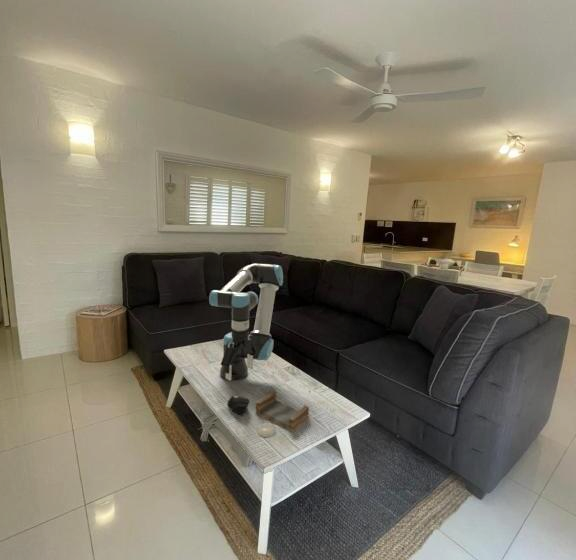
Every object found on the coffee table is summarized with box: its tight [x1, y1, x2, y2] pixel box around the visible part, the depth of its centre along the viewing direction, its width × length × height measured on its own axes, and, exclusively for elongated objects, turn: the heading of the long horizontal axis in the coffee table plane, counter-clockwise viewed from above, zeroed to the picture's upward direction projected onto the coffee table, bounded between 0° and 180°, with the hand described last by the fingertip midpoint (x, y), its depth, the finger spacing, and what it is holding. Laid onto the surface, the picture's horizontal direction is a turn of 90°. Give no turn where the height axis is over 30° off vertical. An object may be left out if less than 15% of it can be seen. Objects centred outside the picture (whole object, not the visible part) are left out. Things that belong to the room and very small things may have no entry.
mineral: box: [227, 395, 250, 417], centre depth 138 cm, size 10×9×6 cm
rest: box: [255, 390, 310, 433], centre depth 136 cm, size 20×12×5 cm, turn 54°
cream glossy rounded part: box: [256, 422, 277, 438], centre depth 126 cm, size 8×8×1 cm
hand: (239, 373), depth 138 cm, fingers open, 13 cm apart
